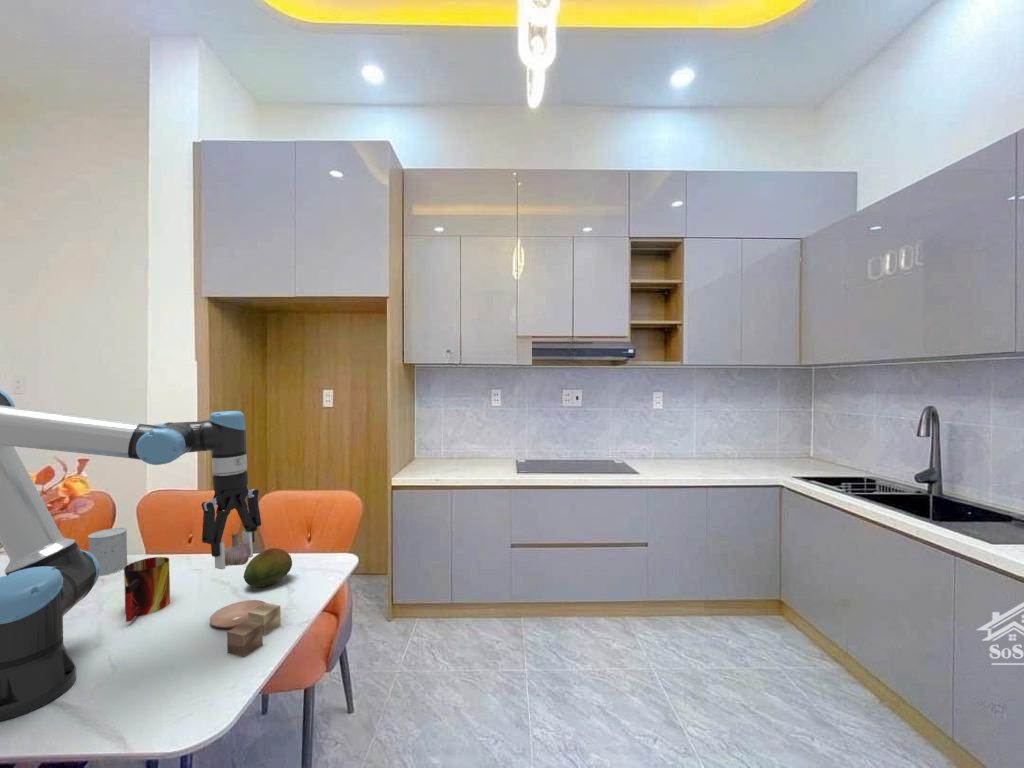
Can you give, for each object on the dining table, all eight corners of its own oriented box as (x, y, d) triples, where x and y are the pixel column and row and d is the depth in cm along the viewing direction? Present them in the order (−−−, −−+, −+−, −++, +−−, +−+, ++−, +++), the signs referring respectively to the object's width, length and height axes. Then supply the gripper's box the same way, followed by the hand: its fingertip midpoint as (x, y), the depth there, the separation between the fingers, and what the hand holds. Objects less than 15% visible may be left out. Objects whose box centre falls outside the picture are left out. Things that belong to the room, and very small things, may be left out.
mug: (126, 627, 115) (125, 579, 115) (124, 606, 125) (123, 563, 125) (173, 613, 121) (172, 568, 121) (168, 595, 132) (167, 554, 131)
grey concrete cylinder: (88, 569, 150) (87, 532, 150) (126, 561, 156) (126, 525, 156) (88, 579, 143) (87, 540, 143) (128, 569, 149) (127, 532, 149)
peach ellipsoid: (235, 634, 111) (235, 629, 111) (197, 625, 115) (197, 620, 115) (278, 608, 123) (278, 604, 123) (243, 601, 127) (243, 597, 127)
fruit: (298, 576, 143) (297, 544, 143) (270, 595, 131) (270, 560, 131) (265, 573, 145) (265, 542, 145) (235, 592, 133) (234, 558, 133)
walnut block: (243, 657, 102) (243, 635, 102) (227, 653, 103) (226, 631, 103) (262, 645, 107) (262, 624, 106) (246, 641, 108) (246, 620, 108)
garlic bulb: (252, 565, 114) (250, 533, 114) (217, 573, 110) (215, 540, 110) (250, 555, 121) (248, 525, 120) (217, 563, 117) (216, 532, 117)
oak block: (264, 635, 110) (263, 615, 110) (248, 632, 112) (248, 612, 112) (280, 625, 115) (280, 605, 115) (265, 621, 117) (265, 602, 117)
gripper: (200, 482, 105) (205, 581, 105) (274, 465, 123) (278, 549, 123) (179, 480, 107) (184, 576, 108) (255, 463, 126) (258, 546, 126)
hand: (234, 562), depth 116 cm, fingers closed on garlic bulb, 7 cm apart
